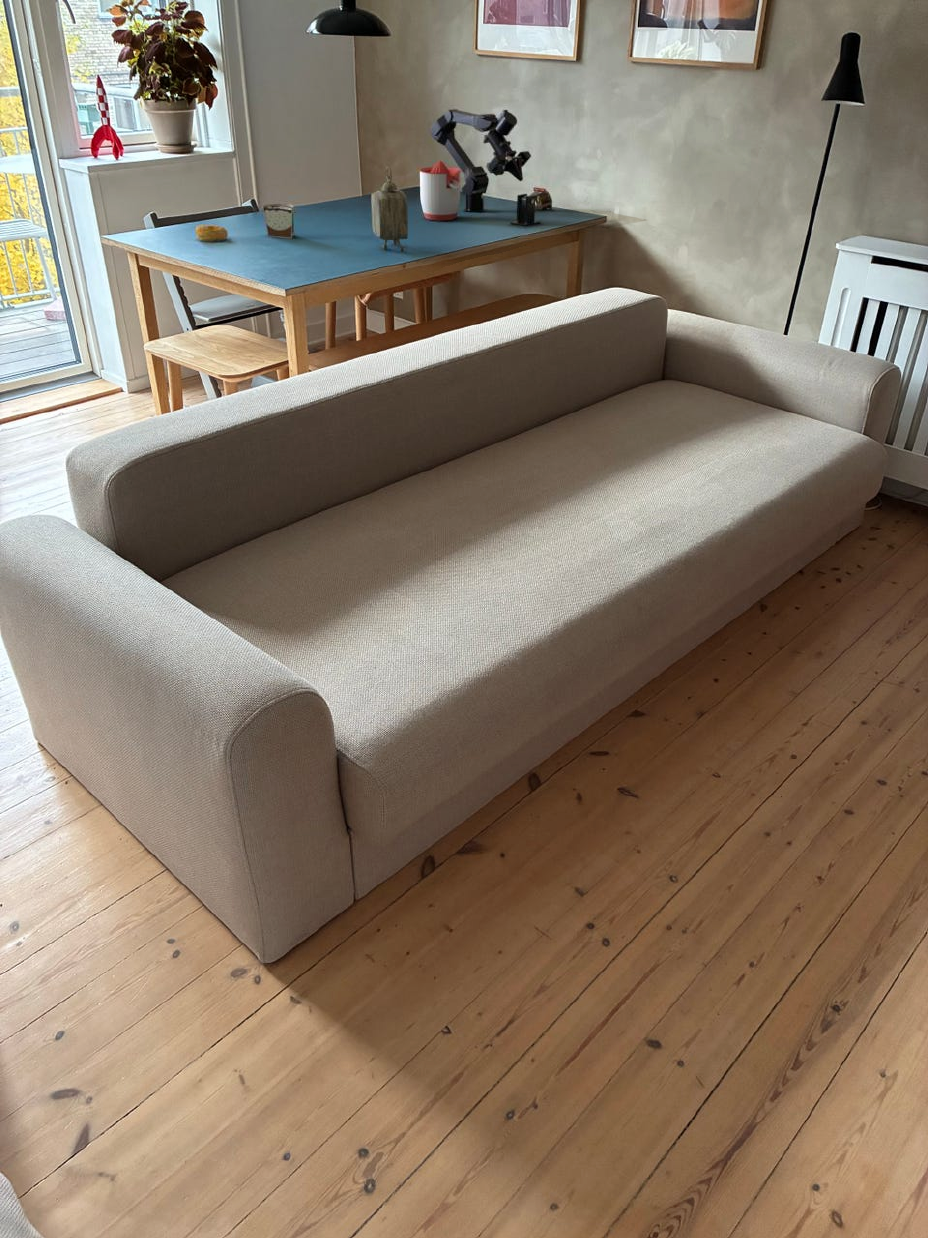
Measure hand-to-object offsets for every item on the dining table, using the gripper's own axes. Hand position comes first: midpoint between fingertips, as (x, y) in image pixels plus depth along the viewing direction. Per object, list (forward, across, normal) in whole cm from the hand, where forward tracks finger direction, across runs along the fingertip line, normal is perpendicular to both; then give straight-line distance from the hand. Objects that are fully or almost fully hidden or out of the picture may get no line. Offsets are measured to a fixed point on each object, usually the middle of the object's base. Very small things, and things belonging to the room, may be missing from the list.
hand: (521, 180), depth 353 cm
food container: (-19, +81, -38) cm, 92 cm away
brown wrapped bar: (+10, +4, +3) cm, 11 cm away
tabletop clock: (+11, +70, -8) cm, 72 cm away
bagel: (-28, +102, -47) cm, 116 cm away
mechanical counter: (+5, -18, -15) cm, 24 cm away
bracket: (+16, +8, -3) cm, 18 cm away
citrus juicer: (-6, +20, -25) cm, 33 cm away
